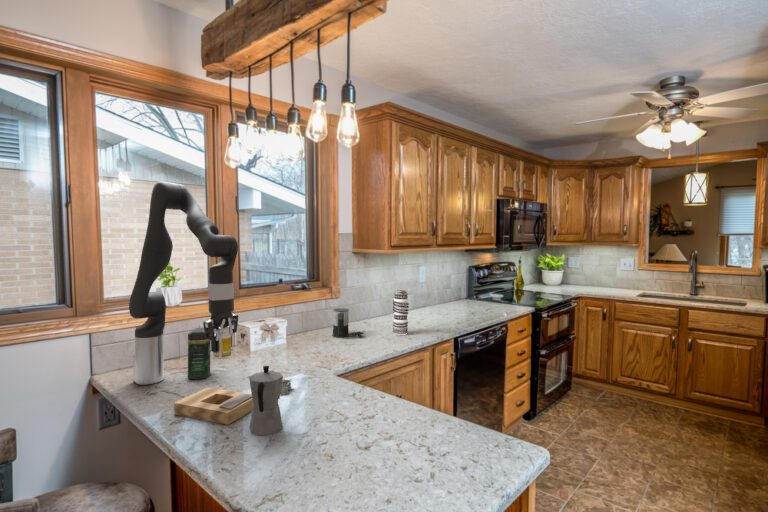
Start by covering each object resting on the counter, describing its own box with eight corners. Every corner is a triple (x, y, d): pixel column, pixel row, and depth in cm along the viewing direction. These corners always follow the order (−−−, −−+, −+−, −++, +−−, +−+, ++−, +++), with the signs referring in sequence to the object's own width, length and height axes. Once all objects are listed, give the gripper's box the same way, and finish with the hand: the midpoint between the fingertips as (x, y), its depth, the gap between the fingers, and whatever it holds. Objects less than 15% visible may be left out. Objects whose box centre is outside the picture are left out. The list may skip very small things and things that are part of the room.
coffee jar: (208, 379, 156) (208, 330, 155) (185, 380, 153) (185, 331, 153) (212, 371, 165) (212, 325, 164) (190, 372, 163) (190, 326, 162)
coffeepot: (254, 418, 122) (254, 359, 121) (286, 417, 123) (286, 358, 122) (241, 444, 107) (241, 376, 106) (277, 443, 108) (278, 375, 107)
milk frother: (330, 334, 230) (330, 308, 230) (356, 332, 237) (356, 306, 236) (338, 340, 217) (338, 312, 217) (365, 337, 224) (365, 311, 223)
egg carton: (256, 394, 142) (256, 382, 142) (265, 386, 149) (265, 375, 149) (285, 396, 141) (285, 384, 140) (293, 388, 148) (293, 377, 148)
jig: (174, 414, 125) (174, 401, 124) (208, 397, 138) (208, 386, 138) (227, 424, 118) (227, 411, 118) (258, 406, 131) (258, 394, 131)
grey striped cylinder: (390, 332, 236) (390, 289, 235) (405, 331, 239) (405, 289, 238) (395, 336, 228) (395, 291, 227) (410, 335, 230) (411, 291, 229)
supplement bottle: (211, 359, 129) (210, 329, 128) (216, 355, 134) (215, 325, 134) (228, 359, 129) (228, 329, 129) (233, 354, 135) (232, 325, 134)
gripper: (226, 294, 139) (227, 343, 139) (195, 299, 125) (195, 354, 126) (245, 295, 137) (246, 345, 137) (215, 300, 123) (215, 356, 123)
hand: (222, 349), depth 131 cm, fingers closed on supplement bottle, 5 cm apart
